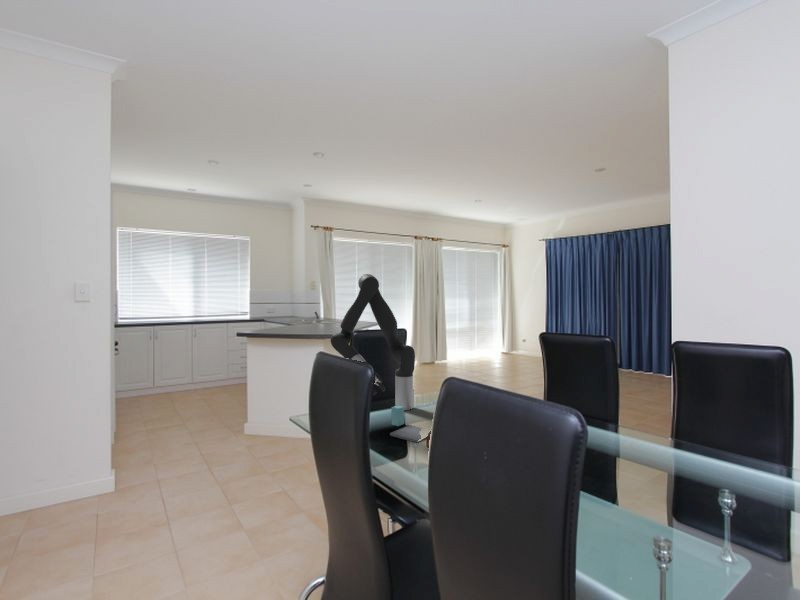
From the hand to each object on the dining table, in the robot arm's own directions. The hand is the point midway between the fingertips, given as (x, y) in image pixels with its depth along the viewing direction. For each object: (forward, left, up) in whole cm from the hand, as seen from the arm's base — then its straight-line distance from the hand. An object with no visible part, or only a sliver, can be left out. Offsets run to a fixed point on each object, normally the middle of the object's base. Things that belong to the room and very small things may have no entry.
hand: (380, 392), depth 195 cm
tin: (+11, +41, -14) cm, 45 cm away
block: (-2, +9, -14) cm, 17 cm away
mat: (+5, +23, -14) cm, 27 cm away
